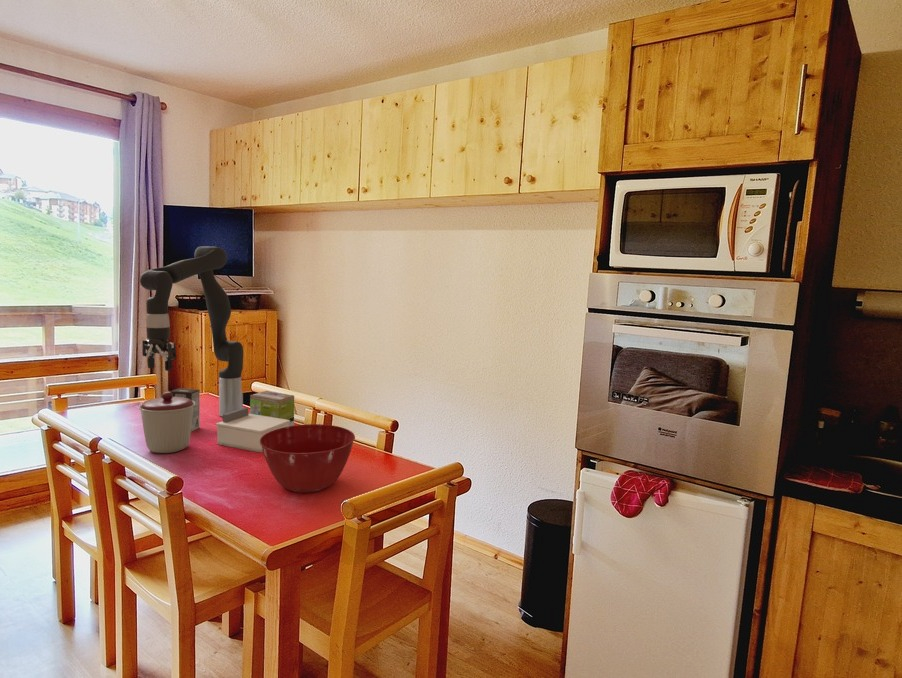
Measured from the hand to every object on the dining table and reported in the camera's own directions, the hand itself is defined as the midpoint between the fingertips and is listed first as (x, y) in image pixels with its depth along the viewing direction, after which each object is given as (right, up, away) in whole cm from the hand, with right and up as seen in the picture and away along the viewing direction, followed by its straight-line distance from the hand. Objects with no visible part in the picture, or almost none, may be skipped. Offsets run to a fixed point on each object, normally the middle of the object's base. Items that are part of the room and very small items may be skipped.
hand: (159, 369), depth 202 cm
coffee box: (0, -25, +19) cm, 32 cm away
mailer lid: (+33, -21, +5) cm, 39 cm away
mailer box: (+33, -28, +6) cm, 44 cm away
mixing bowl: (+63, -35, -31) cm, 78 cm away
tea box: (+34, -26, +24) cm, 49 cm away
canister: (+6, -29, -5) cm, 30 cm away
